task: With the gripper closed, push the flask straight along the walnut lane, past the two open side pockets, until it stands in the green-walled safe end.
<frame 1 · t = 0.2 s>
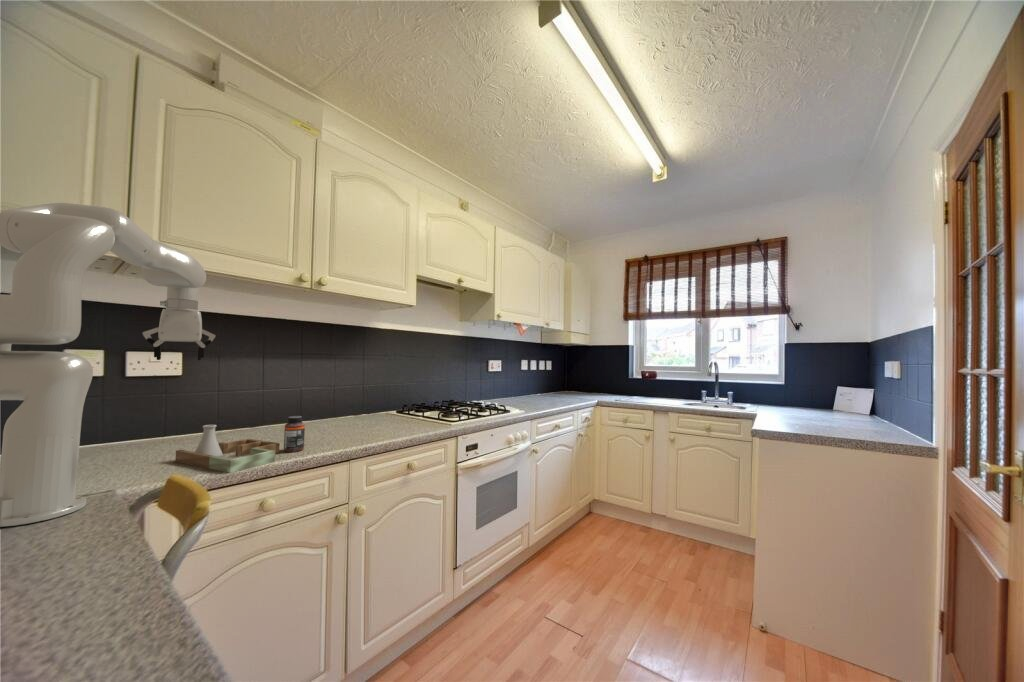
hand: (179, 360, 117), 30 cm above the table, tool pointing down, fingers open, 9 cm apart
flask: (207, 459, 113), on the table
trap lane: (224, 461, 110), on the table
supplement bottle: (293, 451, 125), on the table
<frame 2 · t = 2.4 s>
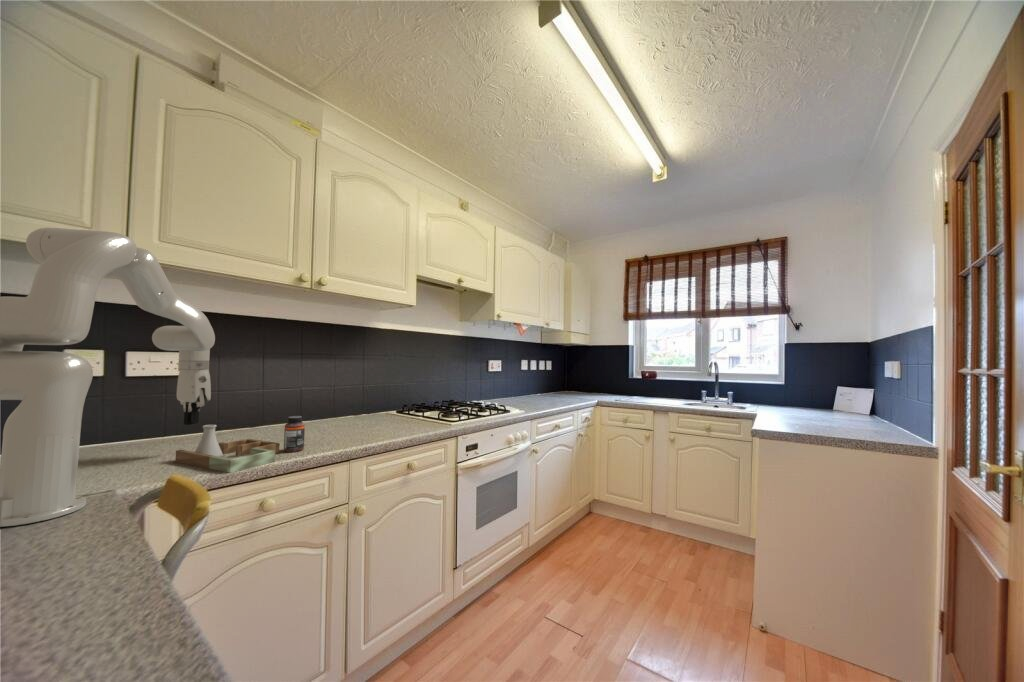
hand: (191, 423, 118), 10 cm above the table, tool pointing down, fingers closed
nothing on the table moved.
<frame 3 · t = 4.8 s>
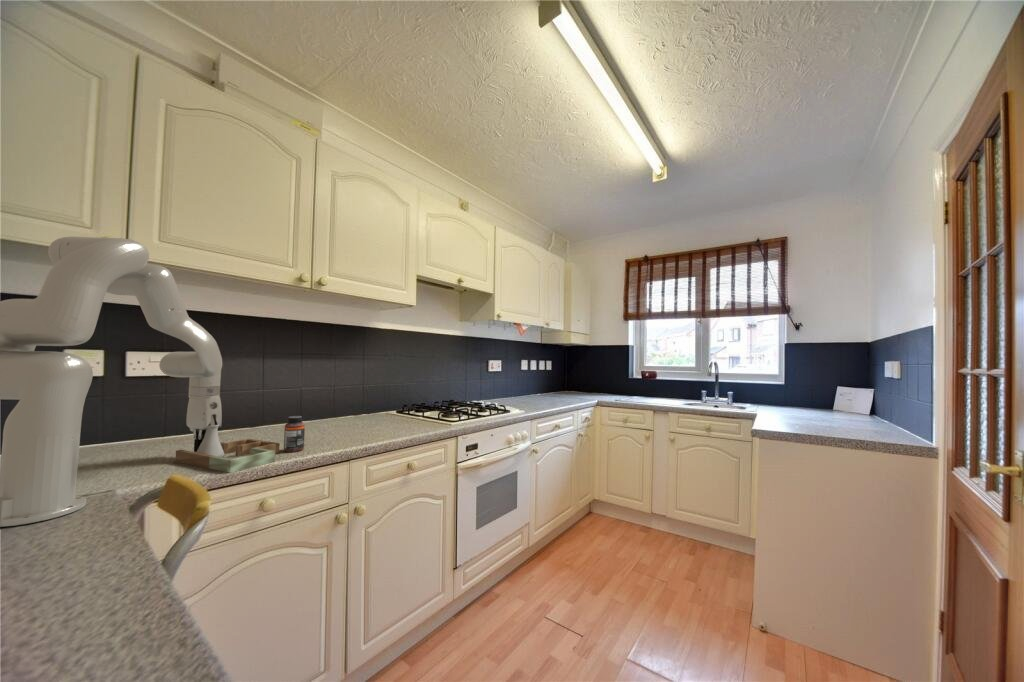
hand: (201, 451, 115), 2 cm above the table, tool pointing down, fingers closed
flask: (209, 458, 113), on the table, touching gripper
everything else where it was.
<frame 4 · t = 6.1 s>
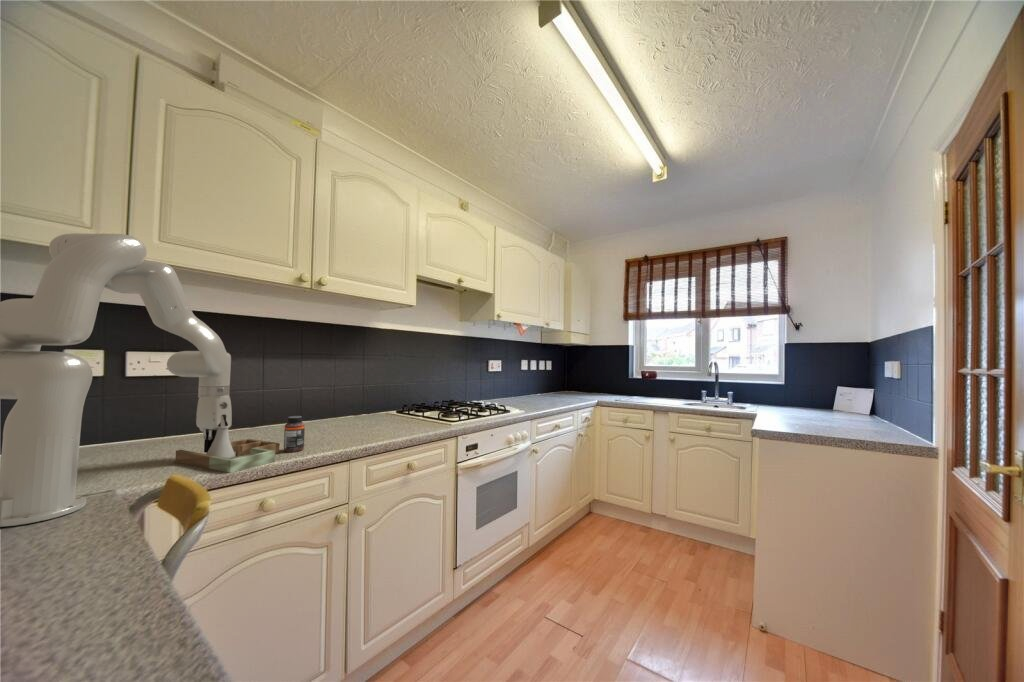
hand: (211, 451, 114), 2 cm above the table, tool pointing down, fingers closed
flask: (219, 459, 112), on the table, touching gripper
everything else where it was.
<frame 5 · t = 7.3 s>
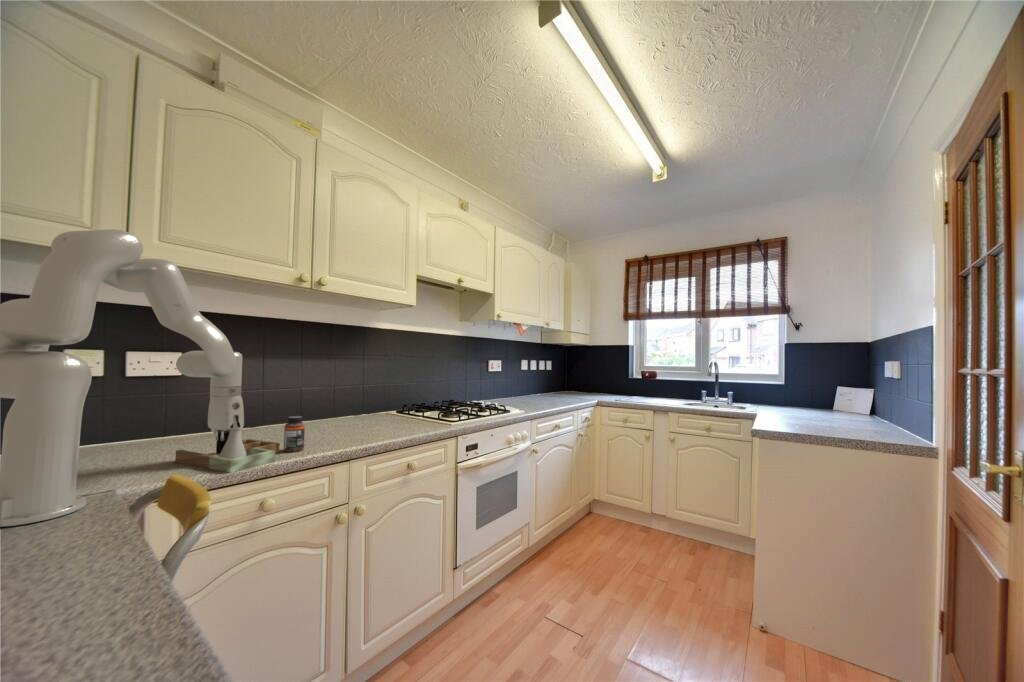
hand: (223, 452, 112), 2 cm above the table, tool pointing down, fingers closed
flask: (232, 461, 111), on the table, touching gripper
everything else where it was.
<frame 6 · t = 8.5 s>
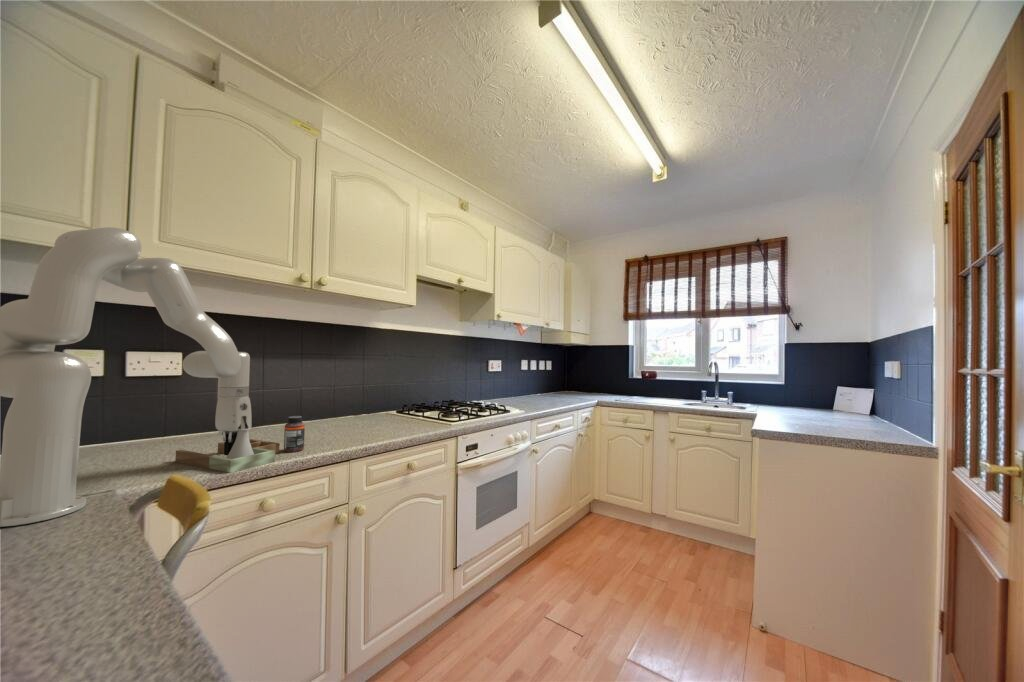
hand: (231, 454, 111), 2 cm above the table, tool pointing down, fingers closed
flask: (240, 462, 109), on the table, touching gripper
everything else where it was.
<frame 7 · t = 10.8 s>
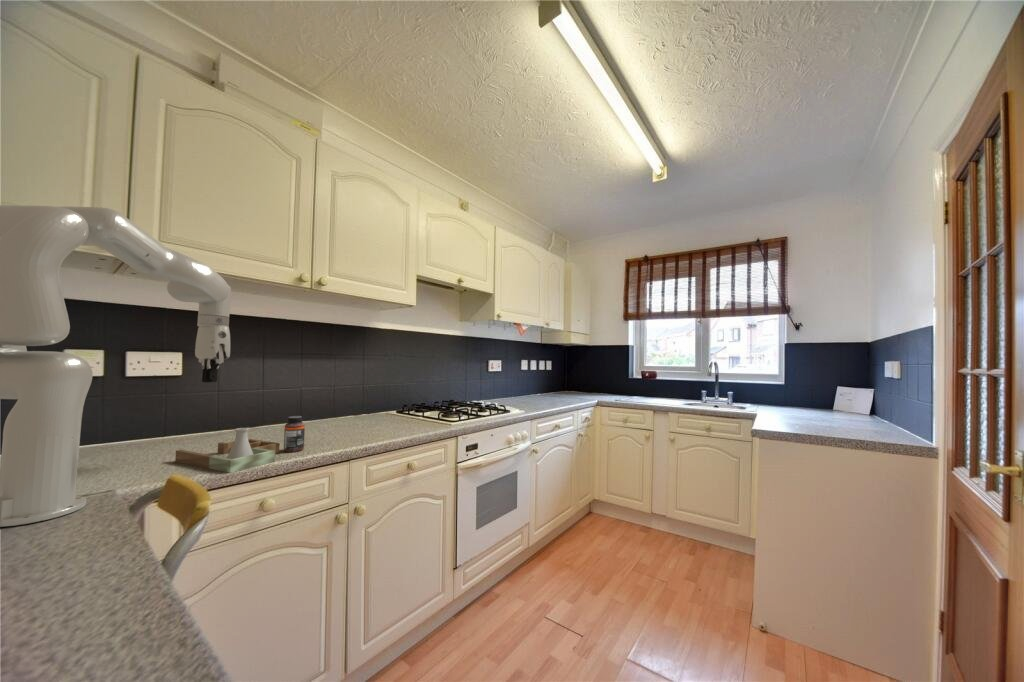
hand: (209, 381, 113), 23 cm above the table, tool pointing down, fingers closed
flask: (240, 463, 109), on the table
everything else where it was.
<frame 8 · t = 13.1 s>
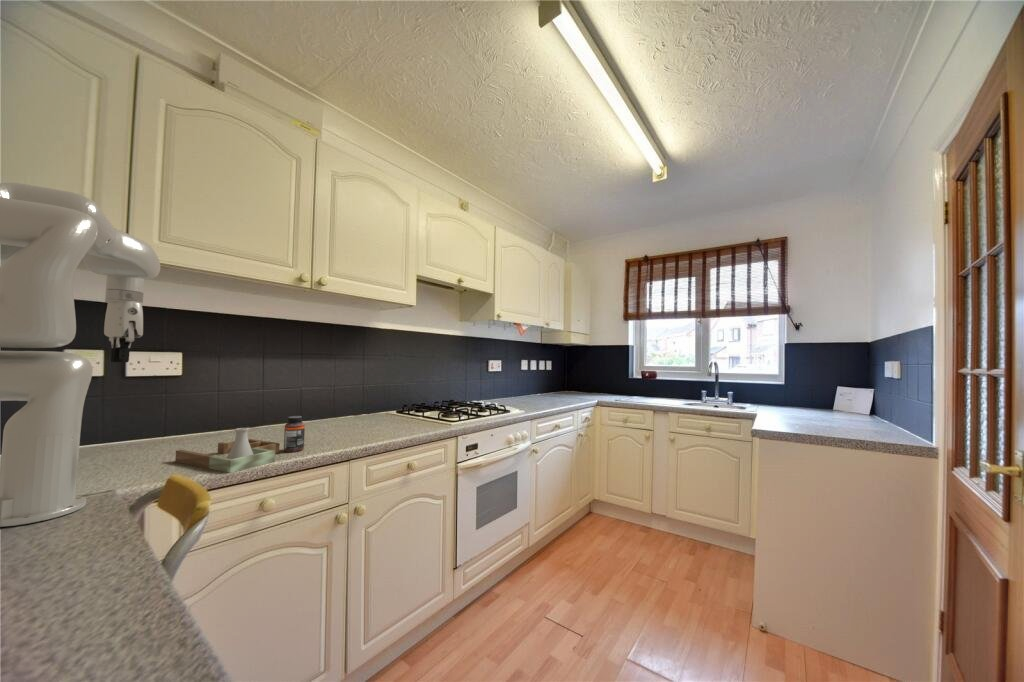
hand: (119, 362, 105), 29 cm above the table, tool pointing down, fingers closed
nothing on the table moved.
at the end: flask inside the target area (2.6 cm from its centre), on the table; flask tilted 0°; flask moved 13.7 cm from its start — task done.
